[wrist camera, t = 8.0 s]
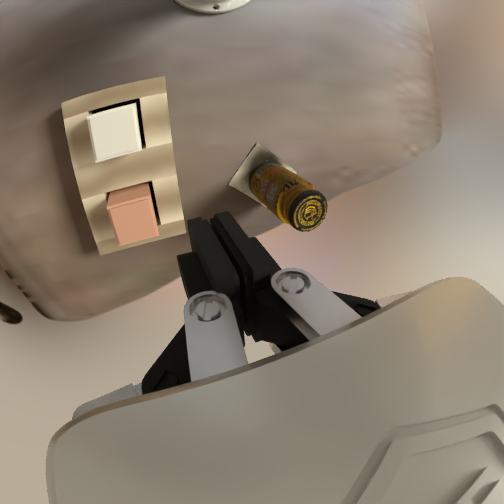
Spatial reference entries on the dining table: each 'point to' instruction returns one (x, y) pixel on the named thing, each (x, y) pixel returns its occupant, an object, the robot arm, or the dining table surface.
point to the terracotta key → (132, 213)
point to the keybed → (125, 161)
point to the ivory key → (114, 132)
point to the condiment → (280, 189)
